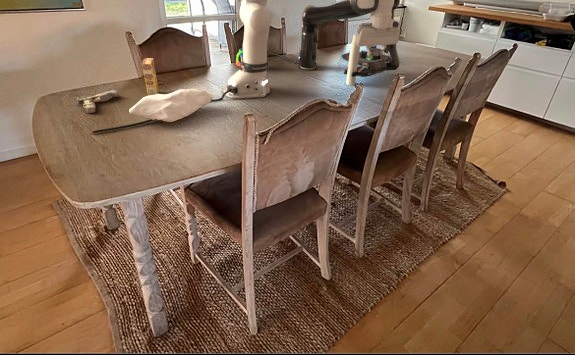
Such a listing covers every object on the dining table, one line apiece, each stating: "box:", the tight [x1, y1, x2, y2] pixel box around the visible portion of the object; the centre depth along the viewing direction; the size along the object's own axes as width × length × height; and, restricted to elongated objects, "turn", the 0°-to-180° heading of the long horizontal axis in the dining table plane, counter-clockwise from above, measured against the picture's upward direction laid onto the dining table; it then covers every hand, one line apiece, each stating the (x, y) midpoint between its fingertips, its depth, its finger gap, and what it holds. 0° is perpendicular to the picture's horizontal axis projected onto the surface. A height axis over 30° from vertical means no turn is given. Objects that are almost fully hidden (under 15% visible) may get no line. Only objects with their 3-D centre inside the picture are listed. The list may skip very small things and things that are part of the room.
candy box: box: [141, 57, 160, 96], centre depth 163 cm, size 9×4×15 cm, turn 13°
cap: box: [370, 47, 381, 56], centre depth 163 cm, size 5×4×2 cm
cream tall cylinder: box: [345, 33, 361, 87], centre depth 184 cm, size 5×5×25 cm
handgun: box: [76, 89, 120, 114], centre depth 155 cm, size 3×18×15 cm
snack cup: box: [235, 47, 243, 63], centre depth 205 cm, size 16×10×10 cm
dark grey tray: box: [341, 45, 390, 65], centre depth 232 cm, size 35×35×9 cm
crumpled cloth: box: [129, 88, 214, 123], centre depth 147 cm, size 24×35×9 cm
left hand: (374, 55), depth 164 cm, fingers closed on cap, 4 cm apart
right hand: (348, 73), depth 186 cm, fingers closed on cream tall cylinder, 4 cm apart
